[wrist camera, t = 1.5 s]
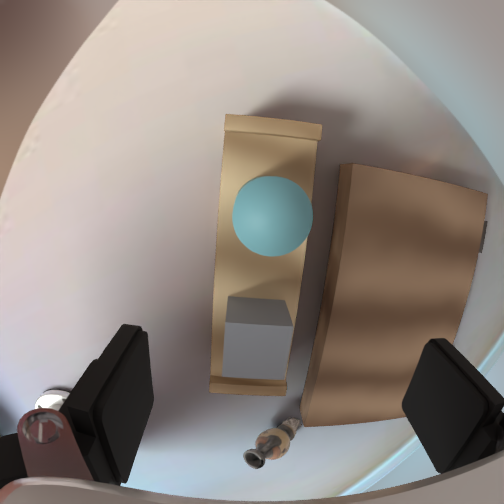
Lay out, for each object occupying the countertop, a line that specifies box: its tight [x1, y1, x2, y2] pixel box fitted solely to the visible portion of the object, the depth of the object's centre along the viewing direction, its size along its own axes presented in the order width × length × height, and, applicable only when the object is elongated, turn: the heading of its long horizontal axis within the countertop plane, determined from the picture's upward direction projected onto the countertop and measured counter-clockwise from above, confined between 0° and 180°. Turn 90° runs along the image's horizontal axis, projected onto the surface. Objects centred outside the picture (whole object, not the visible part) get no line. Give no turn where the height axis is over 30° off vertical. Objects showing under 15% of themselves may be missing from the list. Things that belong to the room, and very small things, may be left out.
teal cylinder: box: [232, 176, 313, 256], centre depth 18 cm, size 4×4×5 cm
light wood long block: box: [209, 114, 322, 396], centre depth 23 cm, size 20×6×6 cm, turn 175°
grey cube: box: [222, 296, 294, 380], centre depth 20 cm, size 4×4×4 cm
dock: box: [299, 163, 488, 427], centre depth 25 cm, size 24×15×3 cm, turn 175°
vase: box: [243, 417, 302, 469], centre depth 27 cm, size 5×5×6 cm
